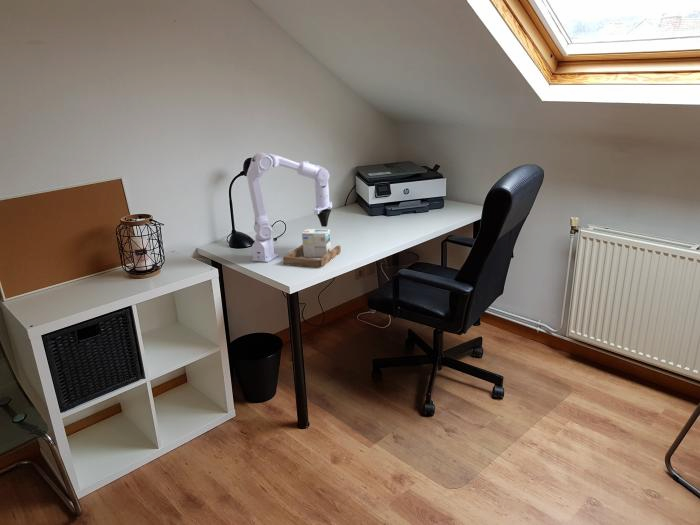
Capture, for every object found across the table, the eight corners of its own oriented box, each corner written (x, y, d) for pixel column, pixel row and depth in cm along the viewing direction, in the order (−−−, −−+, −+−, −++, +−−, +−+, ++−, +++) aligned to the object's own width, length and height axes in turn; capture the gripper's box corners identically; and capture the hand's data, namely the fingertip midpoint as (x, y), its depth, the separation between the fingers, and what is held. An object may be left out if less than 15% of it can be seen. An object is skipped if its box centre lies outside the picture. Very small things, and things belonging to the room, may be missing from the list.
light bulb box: (331, 252, 249) (330, 228, 245) (327, 257, 243) (326, 233, 239) (307, 252, 251) (306, 228, 248) (303, 257, 245) (301, 232, 242)
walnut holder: (321, 267, 231) (321, 260, 230) (283, 264, 238) (283, 257, 237) (340, 252, 249) (340, 245, 248) (305, 249, 255) (304, 242, 254)
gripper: (323, 199, 239) (325, 231, 243) (337, 192, 251) (339, 222, 256) (308, 199, 241) (310, 230, 246) (322, 191, 254) (324, 221, 259)
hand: (324, 226), depth 251 cm, fingers closed
